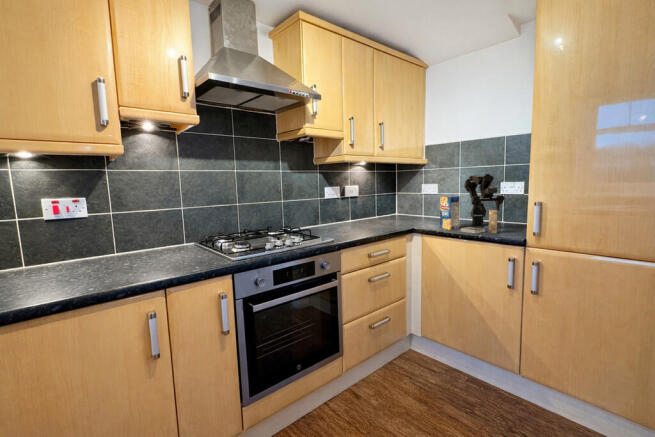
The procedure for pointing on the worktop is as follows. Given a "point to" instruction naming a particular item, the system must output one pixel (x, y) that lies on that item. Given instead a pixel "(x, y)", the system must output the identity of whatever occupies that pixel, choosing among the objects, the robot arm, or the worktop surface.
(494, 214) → the maple peg
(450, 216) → the blue yellow food box
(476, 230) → the hole plate
